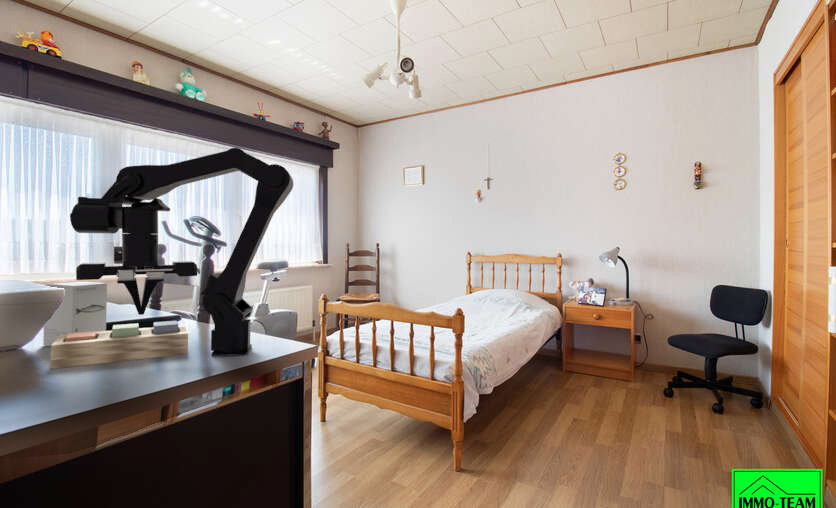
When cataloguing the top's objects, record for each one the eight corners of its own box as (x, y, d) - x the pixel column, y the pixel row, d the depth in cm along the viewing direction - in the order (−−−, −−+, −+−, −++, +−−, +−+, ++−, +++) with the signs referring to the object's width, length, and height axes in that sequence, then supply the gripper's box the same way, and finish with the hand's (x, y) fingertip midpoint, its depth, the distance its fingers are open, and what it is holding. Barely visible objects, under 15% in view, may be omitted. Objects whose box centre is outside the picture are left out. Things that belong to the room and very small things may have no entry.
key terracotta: (96, 344, 76) (96, 331, 76) (94, 349, 72) (94, 335, 72) (68, 346, 73) (68, 333, 73) (65, 352, 70) (65, 337, 70)
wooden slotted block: (183, 343, 86) (183, 324, 86) (187, 353, 79) (188, 333, 79) (59, 355, 75) (59, 334, 74) (51, 368, 67) (51, 345, 67)
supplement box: (71, 349, 79) (72, 285, 79) (41, 346, 80) (42, 283, 80) (107, 340, 86) (108, 282, 86) (79, 338, 88) (80, 280, 87)
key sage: (138, 335, 79) (138, 323, 79) (138, 340, 76) (138, 327, 76) (113, 337, 77) (113, 325, 77) (111, 342, 74) (112, 329, 74)
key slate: (176, 332, 83) (176, 320, 83) (177, 336, 80) (178, 324, 80) (153, 334, 81) (153, 322, 81) (154, 338, 77) (154, 326, 77)
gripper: (190, 235, 89) (190, 304, 90) (81, 233, 78) (82, 312, 79) (197, 234, 80) (197, 312, 81) (75, 232, 69) (76, 322, 70)
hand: (141, 314), depth 78 cm, fingers closed
